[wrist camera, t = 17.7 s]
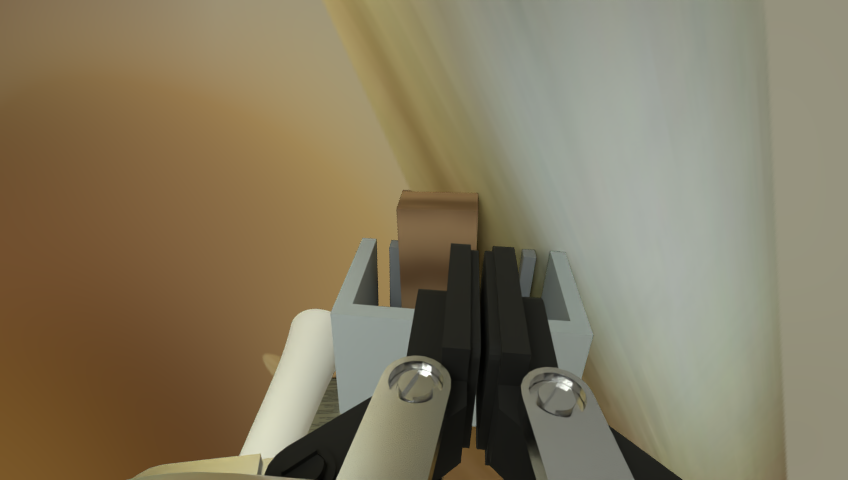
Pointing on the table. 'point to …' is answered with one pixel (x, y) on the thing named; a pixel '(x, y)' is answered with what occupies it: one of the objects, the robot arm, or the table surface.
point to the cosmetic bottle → (295, 386)
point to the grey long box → (391, 326)
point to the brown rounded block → (432, 237)
